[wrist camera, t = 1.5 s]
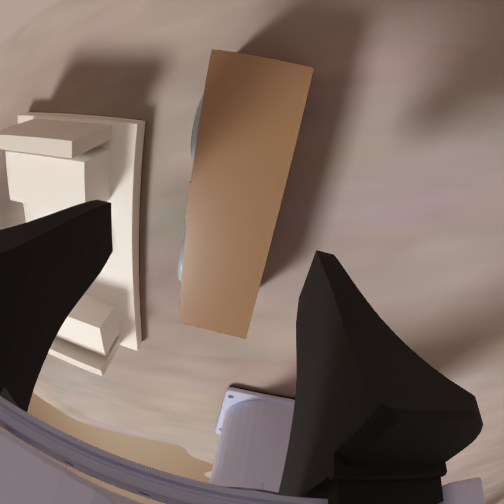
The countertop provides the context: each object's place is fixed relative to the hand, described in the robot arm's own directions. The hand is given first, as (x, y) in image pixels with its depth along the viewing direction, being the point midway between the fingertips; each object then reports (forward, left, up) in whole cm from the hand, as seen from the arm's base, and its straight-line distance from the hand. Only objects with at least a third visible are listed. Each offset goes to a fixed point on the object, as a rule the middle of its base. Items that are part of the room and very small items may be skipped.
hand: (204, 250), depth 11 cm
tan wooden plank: (0, 0, -7) cm, 7 cm away
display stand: (-6, +10, -7) cm, 14 cm away
